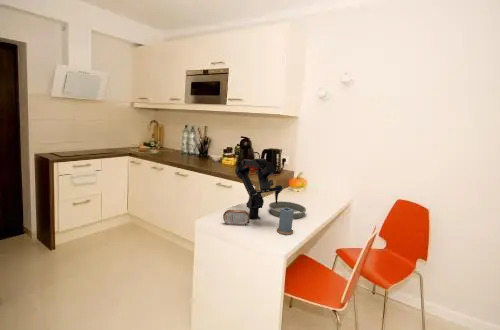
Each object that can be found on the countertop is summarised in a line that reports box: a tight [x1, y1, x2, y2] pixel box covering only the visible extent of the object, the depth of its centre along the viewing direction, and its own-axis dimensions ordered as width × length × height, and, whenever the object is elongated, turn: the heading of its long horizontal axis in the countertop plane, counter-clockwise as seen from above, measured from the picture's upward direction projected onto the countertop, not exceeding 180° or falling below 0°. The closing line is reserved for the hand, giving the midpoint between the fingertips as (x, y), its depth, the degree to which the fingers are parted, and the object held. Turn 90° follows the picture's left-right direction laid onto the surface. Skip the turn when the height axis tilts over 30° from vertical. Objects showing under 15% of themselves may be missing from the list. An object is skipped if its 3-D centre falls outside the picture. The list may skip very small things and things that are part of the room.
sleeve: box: [278, 207, 294, 233], centre depth 158 cm, size 5×5×12 cm
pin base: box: [276, 227, 294, 236], centre depth 158 cm, size 9×9×5 cm
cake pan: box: [268, 200, 307, 220], centre depth 190 cm, size 25×25×4 cm
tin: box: [222, 209, 251, 226], centre depth 163 cm, size 15×3×8 cm, turn 92°
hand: (268, 205), depth 162 cm, fingers open, 9 cm apart
